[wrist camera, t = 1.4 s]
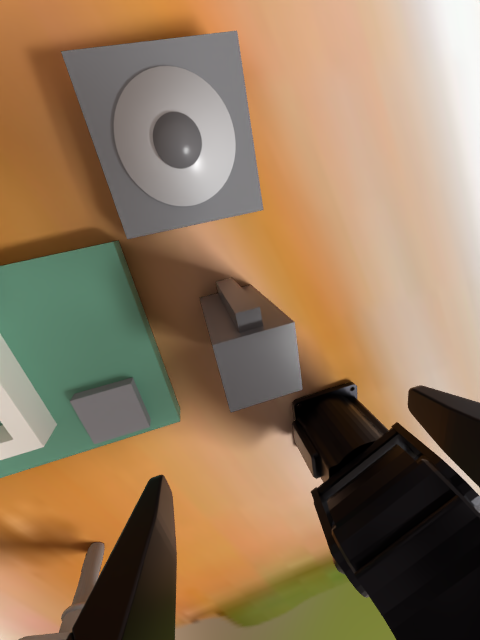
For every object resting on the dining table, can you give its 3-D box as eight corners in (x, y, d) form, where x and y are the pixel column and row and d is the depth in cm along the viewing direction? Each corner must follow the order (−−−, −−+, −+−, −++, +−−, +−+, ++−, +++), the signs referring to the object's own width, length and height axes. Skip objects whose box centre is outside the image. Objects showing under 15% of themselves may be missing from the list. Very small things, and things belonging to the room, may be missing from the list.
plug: (248, 271, 19) (291, 302, 12) (259, 331, 21) (302, 389, 14) (195, 284, 19) (206, 325, 11) (212, 344, 21) (230, 412, 13)
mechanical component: (39, 536, 23) (-51, 739, 14) (153, 537, 27) (140, 701, 18) (33, 558, 24) (-55, 763, 15) (146, 556, 27) (129, 724, 18)
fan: (227, 60, 15) (238, 24, 12) (252, 211, 18) (265, 209, 15) (80, 80, 14) (57, 45, 11) (134, 236, 17) (125, 239, 14)
